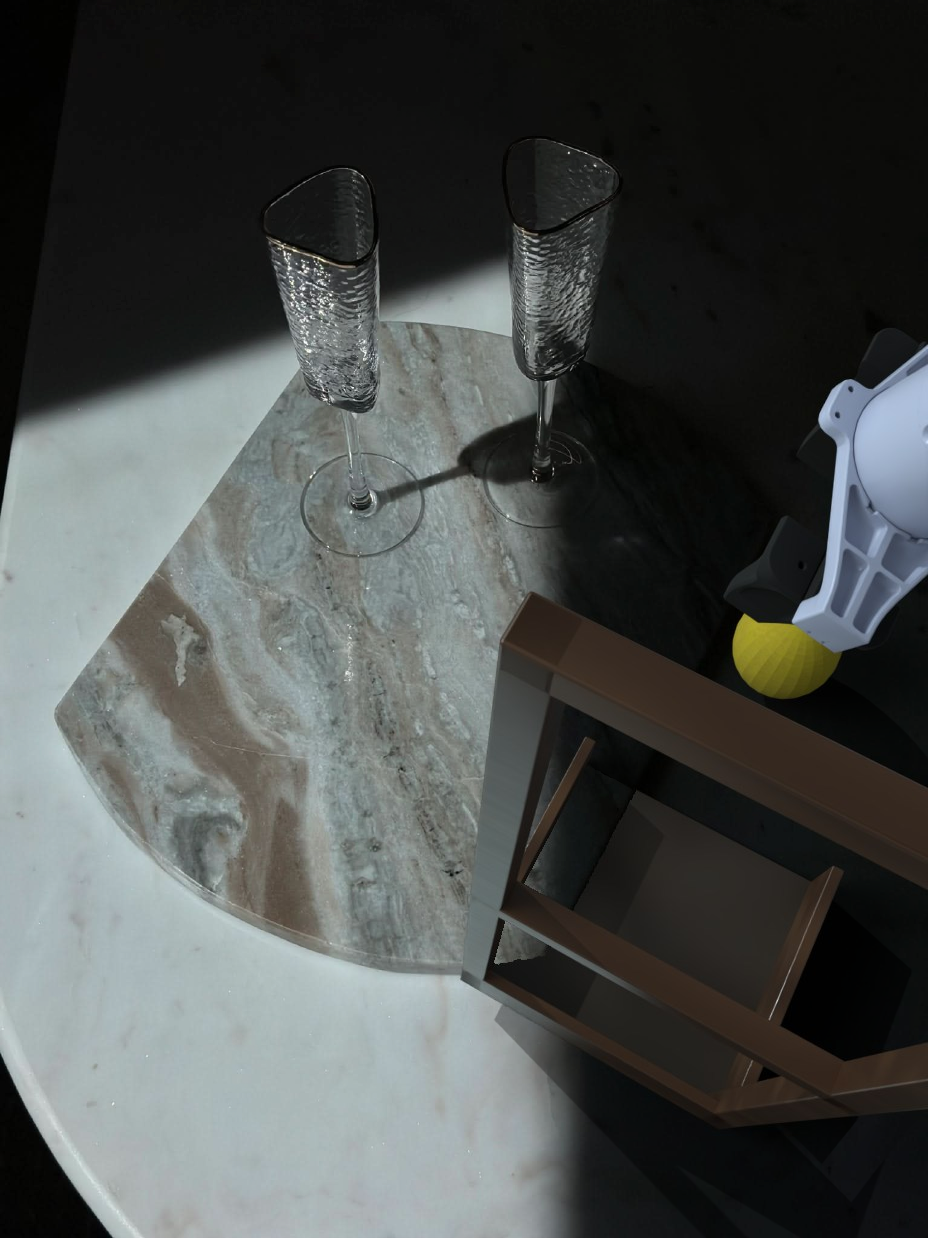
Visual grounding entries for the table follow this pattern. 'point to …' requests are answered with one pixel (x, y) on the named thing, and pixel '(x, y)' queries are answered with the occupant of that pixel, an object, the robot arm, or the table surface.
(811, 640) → the lemon
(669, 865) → the rack
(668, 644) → the table surface
